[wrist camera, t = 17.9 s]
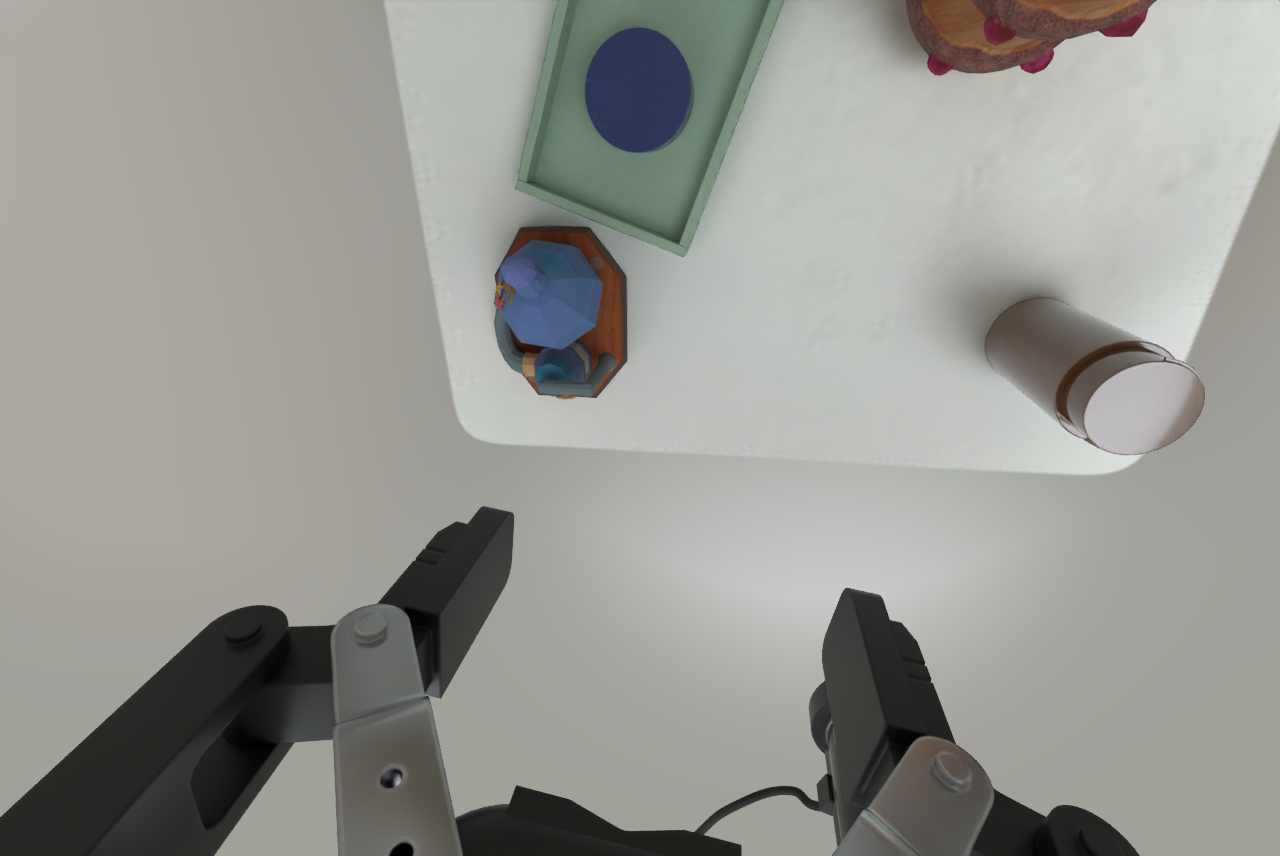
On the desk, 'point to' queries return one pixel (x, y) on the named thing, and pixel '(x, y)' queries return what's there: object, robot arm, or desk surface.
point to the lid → (639, 91)
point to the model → (561, 311)
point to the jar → (1095, 376)
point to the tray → (657, 181)
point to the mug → (1013, 30)
